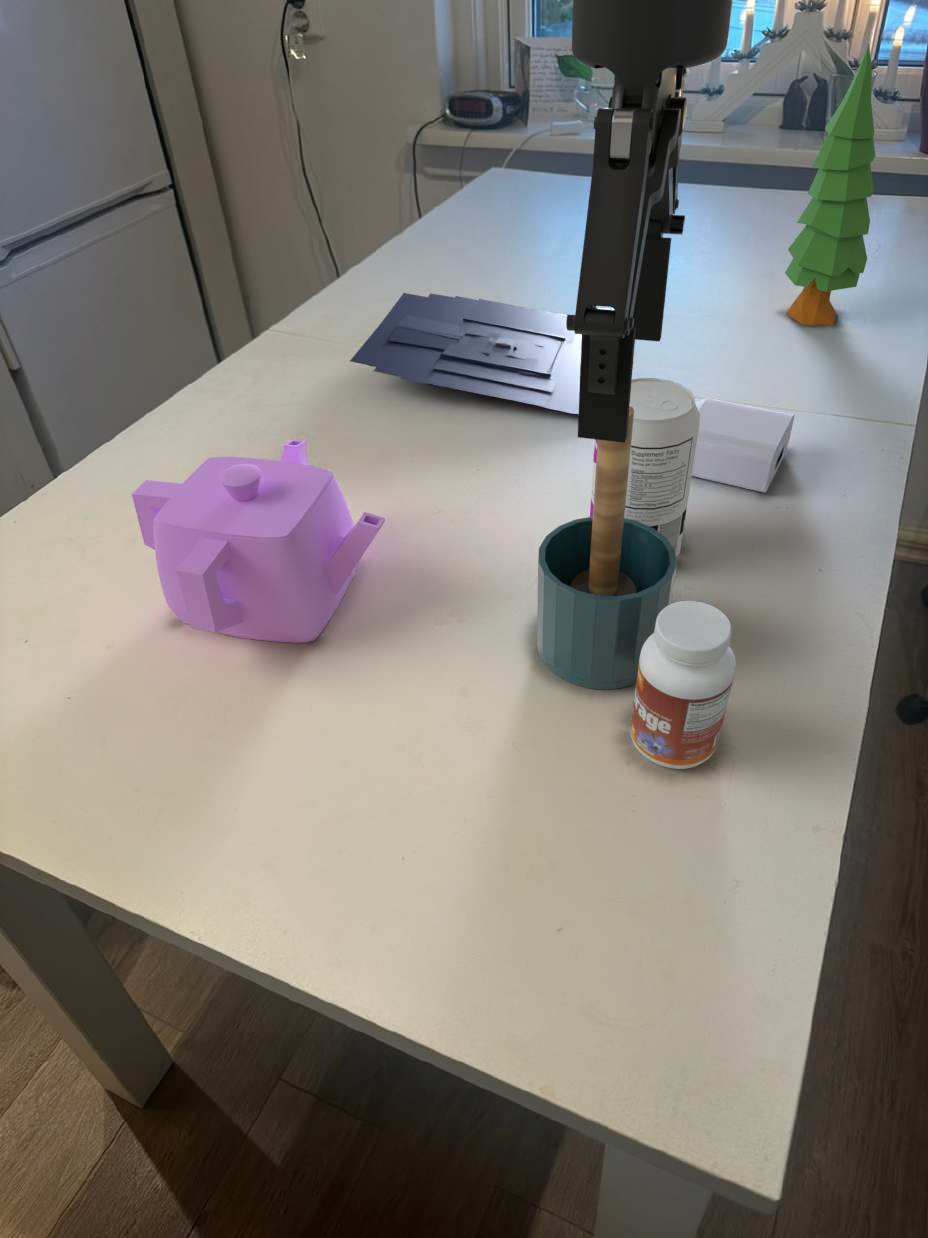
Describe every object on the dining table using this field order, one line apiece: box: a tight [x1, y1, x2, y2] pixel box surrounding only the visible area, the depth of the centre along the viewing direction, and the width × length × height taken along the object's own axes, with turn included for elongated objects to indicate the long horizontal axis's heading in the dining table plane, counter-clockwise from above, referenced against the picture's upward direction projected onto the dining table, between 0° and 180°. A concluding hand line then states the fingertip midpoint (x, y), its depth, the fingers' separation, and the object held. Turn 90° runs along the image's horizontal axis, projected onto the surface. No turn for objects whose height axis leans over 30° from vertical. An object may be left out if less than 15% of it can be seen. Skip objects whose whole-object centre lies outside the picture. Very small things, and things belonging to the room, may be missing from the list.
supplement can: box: [589, 377, 701, 558], centre depth 74 cm, size 8×8×15 cm
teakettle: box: [131, 438, 386, 644], centre depth 73 cm, size 17×17×12 cm
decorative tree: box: [784, 43, 877, 327], centre depth 103 cm, size 10×9×30 cm
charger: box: [692, 397, 795, 494], centre depth 88 cm, size 5×9×15 cm
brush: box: [570, 406, 636, 596], centre depth 63 cm, size 5×5×20 cm
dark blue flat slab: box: [349, 292, 582, 415], centre depth 107 cm, size 24×30×4 cm
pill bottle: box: [629, 600, 737, 770], centre depth 59 cm, size 6×6×11 cm
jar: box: [536, 516, 678, 690], centre depth 67 cm, size 10×10×9 cm
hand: (622, 383), depth 55 cm, fingers open, 13 cm apart
